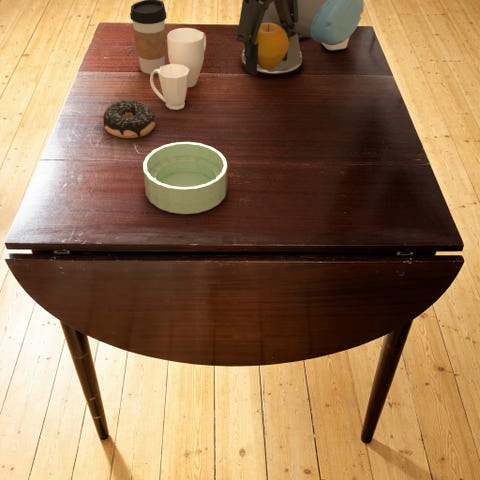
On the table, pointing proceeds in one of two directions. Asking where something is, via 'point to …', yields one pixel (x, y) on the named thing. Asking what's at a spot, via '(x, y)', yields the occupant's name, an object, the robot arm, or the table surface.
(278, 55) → the apple
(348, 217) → the table surface
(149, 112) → the donut
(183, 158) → the serving bowl
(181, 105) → the cup
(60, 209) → the table surface
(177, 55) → the mug
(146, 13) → the coffee cup
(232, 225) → the table surface
